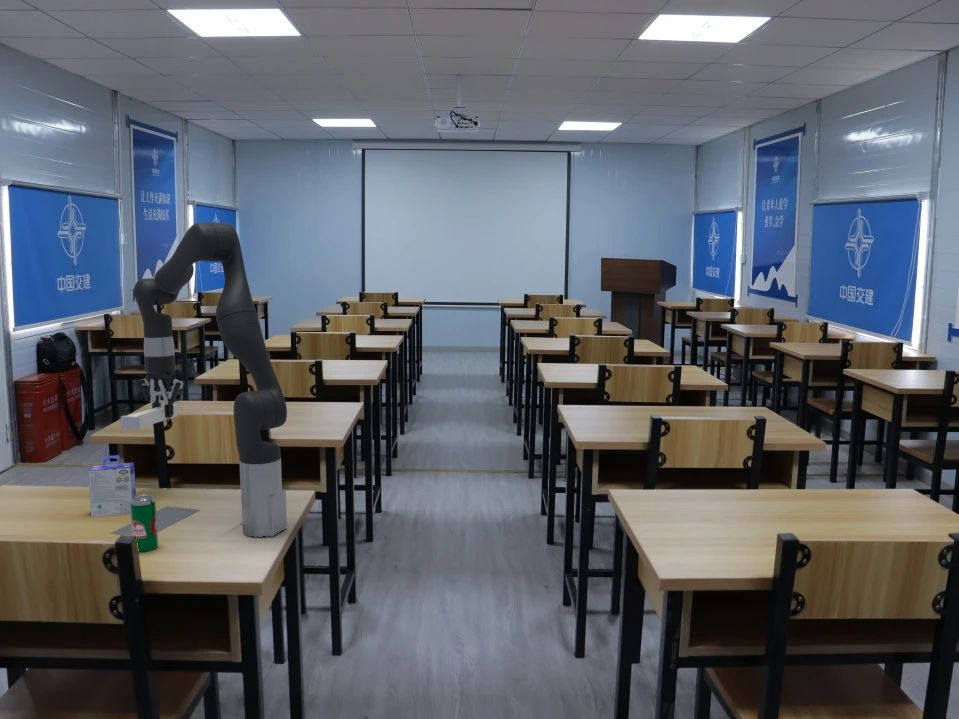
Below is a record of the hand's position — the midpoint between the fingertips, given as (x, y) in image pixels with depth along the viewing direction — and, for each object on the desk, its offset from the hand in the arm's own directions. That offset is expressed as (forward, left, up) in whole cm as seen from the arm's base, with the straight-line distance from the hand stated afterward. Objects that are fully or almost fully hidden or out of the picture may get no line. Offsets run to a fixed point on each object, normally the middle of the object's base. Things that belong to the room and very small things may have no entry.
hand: (163, 416), depth 213 cm
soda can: (-24, +38, -21) cm, 49 cm away
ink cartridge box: (0, +20, -21) cm, 29 cm away
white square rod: (0, +4, -1) cm, 4 cm away
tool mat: (-15, +23, -20) cm, 34 cm away
